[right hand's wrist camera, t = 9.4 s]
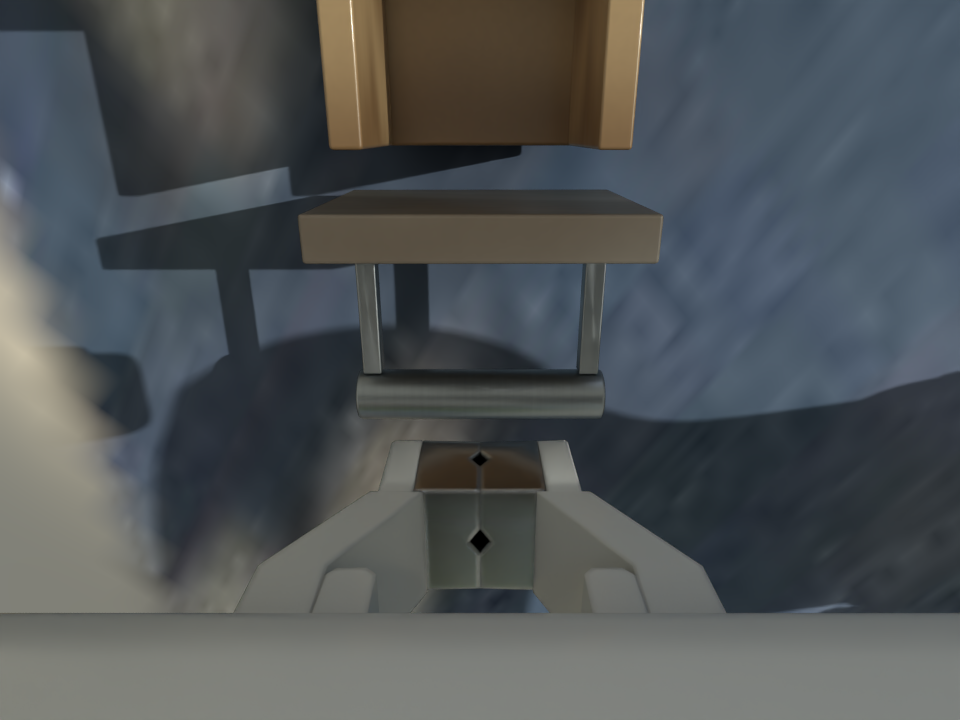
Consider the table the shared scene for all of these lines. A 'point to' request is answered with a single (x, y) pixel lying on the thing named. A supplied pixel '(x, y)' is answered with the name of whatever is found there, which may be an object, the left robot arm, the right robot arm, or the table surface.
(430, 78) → the drawer
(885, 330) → the table surface
